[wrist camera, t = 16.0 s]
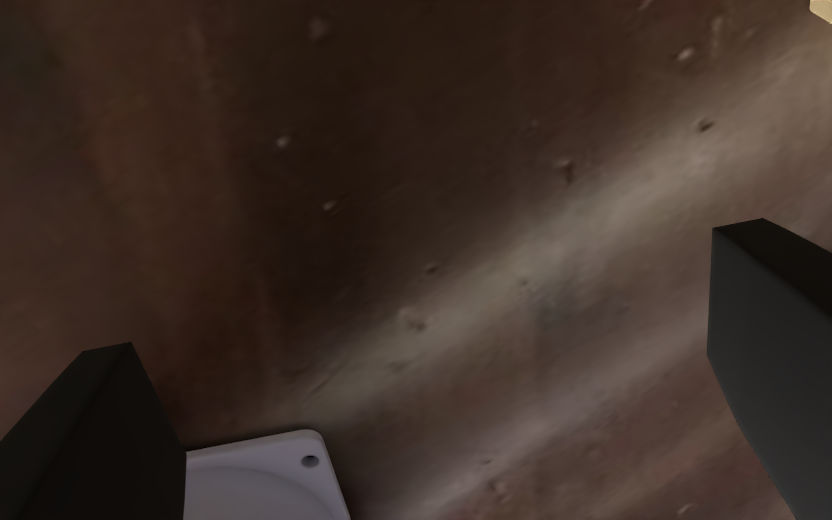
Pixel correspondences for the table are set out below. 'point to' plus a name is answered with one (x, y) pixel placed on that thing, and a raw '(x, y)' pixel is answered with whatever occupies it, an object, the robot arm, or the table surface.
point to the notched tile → (822, 9)
